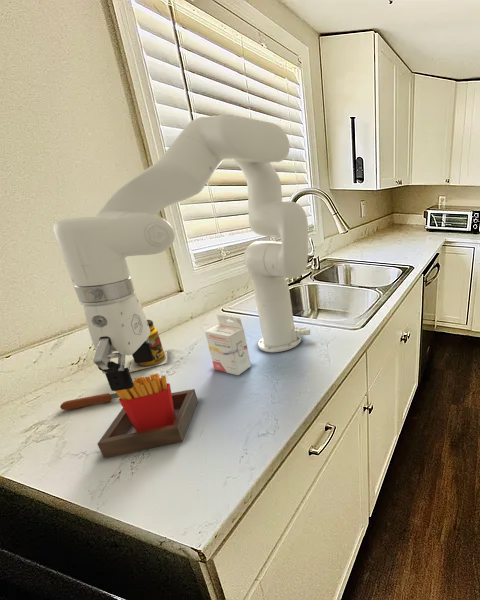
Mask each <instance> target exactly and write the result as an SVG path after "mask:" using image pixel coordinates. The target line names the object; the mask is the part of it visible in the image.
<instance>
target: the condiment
mask: <svg viewBox="0 0 480 600" xmlns="http://www.w3.org/2000/svg"><path fill="white" fill-rule="evenodd" d="M146 320H147V322H148V325H149V328H150V335H149V337H148V338H149V342H147V343H149V344H150V347H151V351H152V354H153V357H154V360H153V361H150V362H143V363H135V362H134V359H131V360H130V365H129V372H130V373H132V372H137V371H140V370H145V369H149V368H154V367H158V366H160V365H165V364H167V363H168V351H164V348H163V345H162V341H161V338H160V335H159V331H158V329H157V328H156V327H155V325H154V322H153V320H151V319H146Z"/></svg>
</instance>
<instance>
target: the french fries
mask: <svg viewBox="0 0 480 600" xmlns="http://www.w3.org/2000/svg"><path fill="white" fill-rule="evenodd" d="M132 381H133V384H134V386H133V387H132V388H131V389H124V390H118V391H114V393H117V395H118V396H119V399H118V401H119V404H120V405H121V407H122V408H124V410H125V412H126V414H127V415H128V417H129V419H130V421H131V422H132V426H133V428H134V430H135V432H140V431H145V430H150V429H155V428H160V427H165V426H170V425H173V423H174V421H175V419H176V417H177V416H176V412H175V409H174V406H173V400H172V394H171V393H172V388H171V384H170V383H168V382H167V376H166V375H162V376H160V374H159V373H152V374H149V376H140V377H139V376H138V377H135V378H133V380H132Z"/></svg>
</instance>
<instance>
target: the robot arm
mask: <svg viewBox="0 0 480 600" xmlns="http://www.w3.org/2000/svg"><path fill="white" fill-rule="evenodd" d="M289 153H290V140H289V136H288V135H287V134H286V132H285V130H284V129H283V128H282V127H281V126H279V125H278V124H276V123H273V122H271V121H270V122H269V121H263V120H260V119H254V118H250V117H245V116H240V115H235V114H220V115H219V114H218V115H210V116H209V115H208V116H200V117H196V118H194V119H192V120H191V121H190V122H189V123H188V124H187V125H186V126H185V127H184V128H183V130H182V131H181V132H180V133H179V134H178V136H177V137H176V139H175V140H174V141H173V142H172V144H171V145H170V146H169V147H168V149H166V151H164V153H163V154H162V156H161V157H160V158H159V159H158V160H157V161H156V162H155V163H154V164H152V165H151V166H149V167H147V168H146V169H144V170H143V171H142V172H140V173H139V174H137V176H135V177H133V178H132V179H131V180H129V181H127V182H126V183H125V184H124V185H122V186H121V187H120V188H118V189H117V190H116V191H115V193H113V194H112V196H110V198H108V200H107V201H106V202H105V204H104V205H103V206H102V208H100V210H98V212H97V214H96V216H82V217H69V218H63V219H60V220H57V221H56V222H54V223H53V225H52V230H53V234H54V237H55V240H56V243H57V245H58V247H59V250H60V253H61V256H62V259H63V261H64V264H65V266H66V270H67V272H68V274H69V277H70V279H71V282H72V284H73V288H74V290H75V294H76V296H77V299H78V302H79V304H80V305H82V306H83V311H84V316H85V317H84V318H85V321H86V326H87V329H88V332H89V336H90V339H91V341H92V345H93V347H94V350H95V351H94V354H93V357H92V362H93V363H94V364H95V365H96V366H97V368H98V370H99V371H101V373H102V374H104V375H105V378H106V380H107V382H108V385H109V388H110V390H111V392H115V391H118V390H124V389H131V388H132V387H133V386H134V384H133V383H134V382H133V381H134V380H133V378H132V376H131V372H129V370H130V368H129V367H126V356H132V358H133V359H134V362H135V363H143V362H150V361H153V360H154V357H153V354H152V351H151V347H150V344H149V343H147V342H149V338H148V337H149V335H150V328H149V325H148V322H147V320H148V319H147V317H146V314H145V312H144V309H143V307H142V304H141V302H140V300H139V298H138V296H137V294H136V293H137V292H136V290H135V286H134V283H133V280H132V277H131V274H130V273H131V272H130V271H129V267H128V263H127V260H126V258H127V257H135V256H137V257H138V256H151V255H152V256H153V255H157V254H161V253H163V252H165V251H167V250H168V249H169V248H170V247H171V246H172V245H173V244H174V241H175V231H174V228H173V226H172V225H171V224H170V222H169V221H167V219H165V218H163V217H161V216H160V215H157V214H158V213H160V212H161V211H162V210H164V209H165V208H167V207H169V206H172V205H174V204H177V203H179V202H183V201H185V200H188V199H190V198H193V197H194V196H197V195H199V194H200V193H201V192H202V191H203V189H204V188H205V186H206V185H207V183H208V182H209V181H210V179H211V178H212V176H213V175H214V173H215V172H216V170H217V169H218V168H219V167H220V166H221V164H222V162H224V161H225V160H233V162H235V163H236V165H237V166H238V167H239V168H240V170H241V171H242V173H243V176H244V178H245V180H246V186H247V201H248V202H247V206H248V221H249V222H248V224H249V227H250V229H251V230H252V232H253V233H254V234H256V235H259V236H264V237H276V238H280V241H274V240H273V241H272V240H259V241H257V240H256V241H254V242H252V243H250V244H248V246H247V247H246V248H245V250H244V253H243V260H244V261H243V262H244V264H245V268H246V270H247V273H248V275H249V278H250V280H251V284H252V288H253V291H254V292H253V293H254V298H255V303H256V309H257V314H258V319H259V324H260V325H259V326H260V331H261V336H262V337H260V339H259V340H258V343H257V345H258V349H259V350H261V351H263V352H267V353H281V352H285V351H289V350H291V349H294V348H295V347H297V346H298V345H299V344H300V343H301V342H302V336H311V335H312V334H311V328H307V327H306V326H301V327H298V326H296V323H295V321H294V313H293V306H292V301H291V293H290V286H289V284H288V281H287V279H297V278H300V277H302V276H303V275H304V274H305V272H306V270H307V267H308V261H309V223H308V216H307V213H306V211H305V210H304V208H303V206H301V204H299V203H297V202H295V201H291V200H283V192H282V191H283V190H282V182H281V179H280V176H279V174H278V173H277V171H276V169H275V168H274V166H273V165H272V164H273V163H281V162H283V161H284V160H286V158H287V157H288V155H289ZM271 163H272V164H271ZM286 278H287V279H286ZM112 359H117V362H115V361H112ZM133 359H132V360H133Z"/></svg>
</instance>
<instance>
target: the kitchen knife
mask: <svg viewBox="0 0 480 600" xmlns="http://www.w3.org/2000/svg"><path fill="white" fill-rule="evenodd" d="M118 398H120V397H119V396H118V395H117V393H116V392H114V393H109V392H108V393H101V394H96V395H90V396H85V397H81V398H76V399H69V400H66V401H63V402H61V404H60V405H59V407H60V410H63V411H69V410H70V411H71V410H75V409H80V408H84V407H89V406H91V405H97V404H101V403H111V401H113V400H114V399H118Z"/></svg>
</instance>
